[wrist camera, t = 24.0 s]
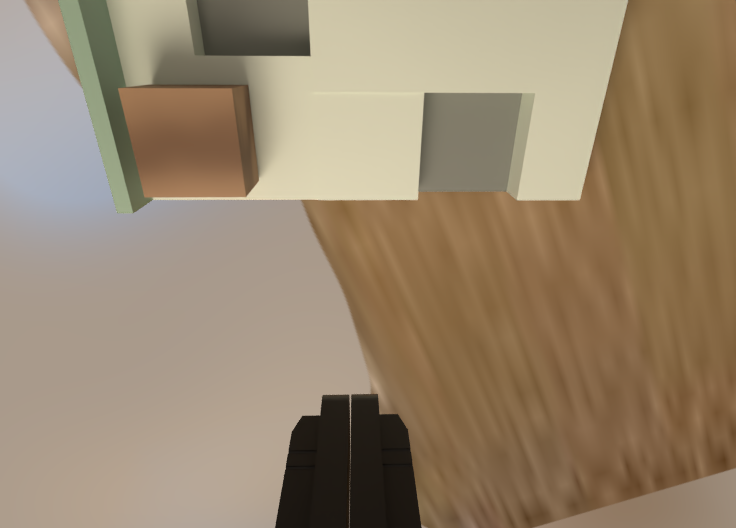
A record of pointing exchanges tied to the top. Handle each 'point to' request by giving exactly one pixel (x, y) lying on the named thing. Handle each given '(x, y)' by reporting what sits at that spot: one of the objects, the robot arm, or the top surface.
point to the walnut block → (192, 139)
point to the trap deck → (366, 89)
